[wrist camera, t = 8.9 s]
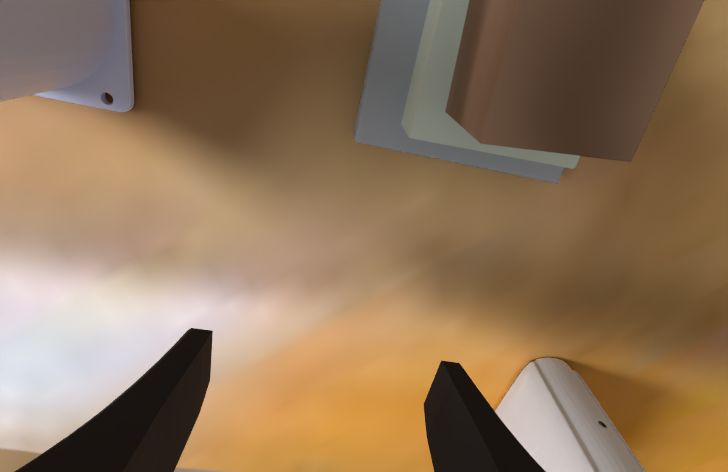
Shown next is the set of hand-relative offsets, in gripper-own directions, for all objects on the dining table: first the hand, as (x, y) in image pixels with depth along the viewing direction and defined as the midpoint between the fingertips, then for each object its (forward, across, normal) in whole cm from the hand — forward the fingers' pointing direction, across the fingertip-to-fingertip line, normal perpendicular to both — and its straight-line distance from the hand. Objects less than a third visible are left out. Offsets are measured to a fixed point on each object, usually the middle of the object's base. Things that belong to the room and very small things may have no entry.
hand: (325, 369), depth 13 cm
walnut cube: (+6, -5, -10) cm, 13 cm away
